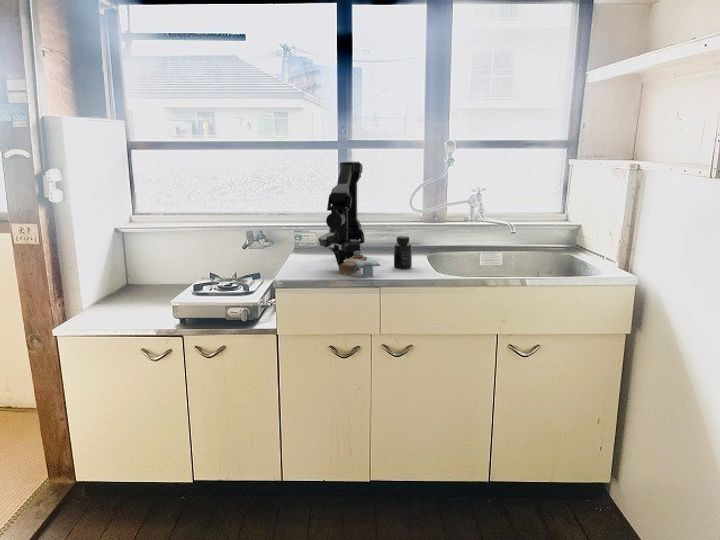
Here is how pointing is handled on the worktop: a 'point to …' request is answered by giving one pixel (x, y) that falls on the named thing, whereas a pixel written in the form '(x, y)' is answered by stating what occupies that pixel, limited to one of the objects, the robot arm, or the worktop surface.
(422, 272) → the worktop surface
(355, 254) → the cylinder
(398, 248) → the supplement bottle
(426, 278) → the worktop surface
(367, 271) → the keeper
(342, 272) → the link
